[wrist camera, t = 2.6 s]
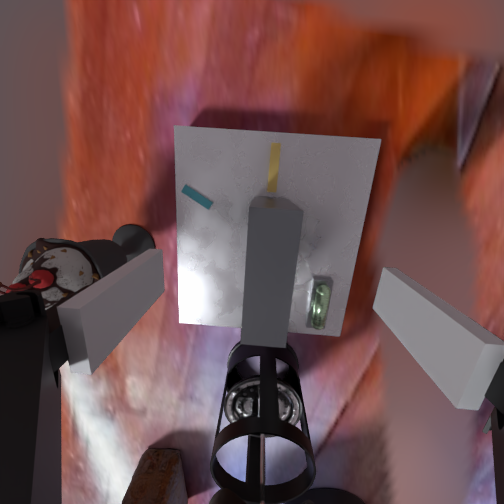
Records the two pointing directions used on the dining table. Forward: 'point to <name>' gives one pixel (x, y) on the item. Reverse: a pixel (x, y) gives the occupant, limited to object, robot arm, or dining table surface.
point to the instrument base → (237, 210)
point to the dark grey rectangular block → (270, 264)
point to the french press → (262, 426)
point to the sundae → (76, 262)
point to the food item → (158, 479)
